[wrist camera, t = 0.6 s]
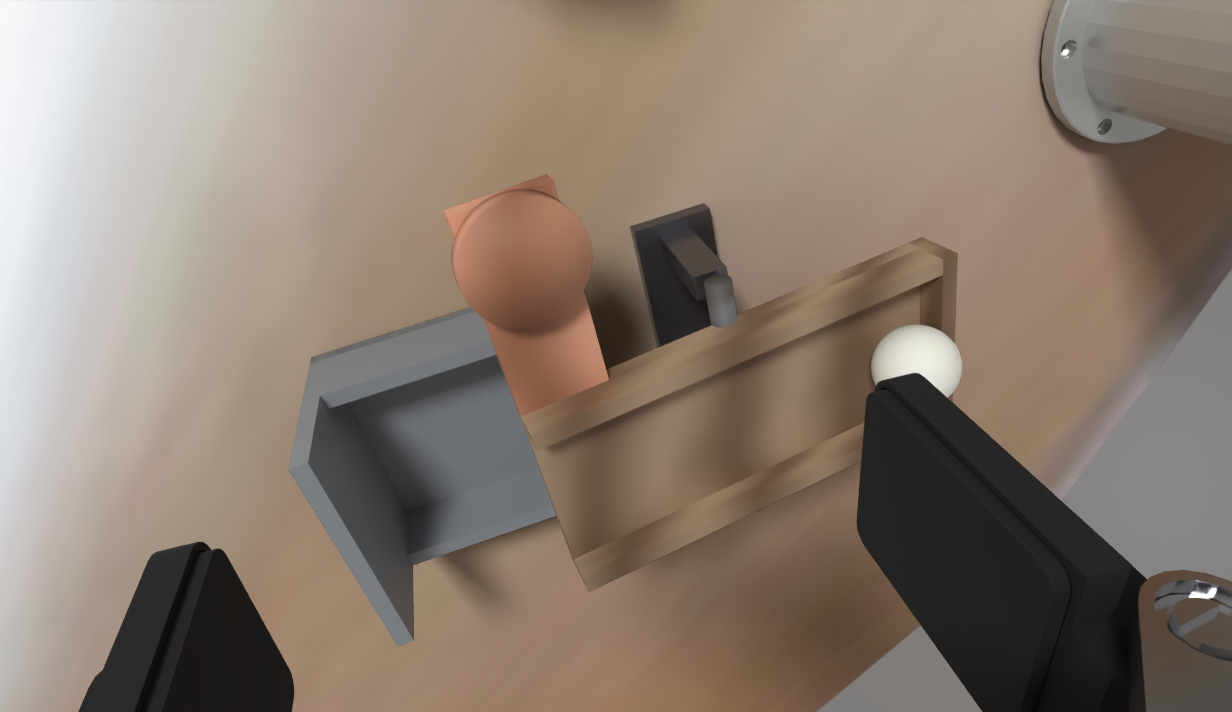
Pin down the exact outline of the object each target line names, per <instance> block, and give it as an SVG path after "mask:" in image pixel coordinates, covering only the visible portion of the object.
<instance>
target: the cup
mask: <svg viewBox="0 0 1232 712" xmlns="http://www.w3.org/2000/svg"><path fill="white" fill-rule="evenodd" d="M288 470H289V472H290V474H291V475H292V477H293V478H294V480H295V482H296V483H297V485H298V486H299V488H300V490H301V491H302V493H303V495H304V496H305V498H306V499H307V501H308V503H309V504H310V506H311V507H312V509H313V511H314V512H315V514H316V515H317V517H318V519H319V520H320V522H321V524H322V525H323V527H324V528H325V530H326V532H327V533H328V535H329V536H330V538H331V540H332V541H333V543H334V545H335V546H336V548H337V549H338V551H339V553H340V554H341V556H342V557H343V559H344V561H345V562H346V564H347V565H348V567H349V569H350V570H351V572H352V574H353V575H354V577H355V578H356V580H357V582H358V583H359V585H360V586H361V588H362V590H363V591H364V593H365V594H366V596H367V598H368V599H369V601H370V603H371V604H372V606H373V607H374V609H375V611H376V612H377V614H378V615H379V617H380V619H381V620H382V622H383V623H384V625H385V627H386V628H387V630H388V632H389V633H390V635H391V636H392V638H393V640H394V641H395V643H396V644H397V646H401V645H404V644H407V643H409V642H412V641H414V605H413V565H415V564H418V563H421V562H424V561H427V560H430V559H433V558H436V557H438V556H441V555H444V554H447V553H450V552H453V551H456V550H459V549H462V548H464V547H467V546H470V545H473V544H476V543H479V542H482V541H485V540H488V539H491V538H493V537H496V536H499V535H502V534H505V533H508V532H511V531H514V530H517V529H519V528H522V527H525V526H528V525H531V524H534V523H537V522H540V521H543V520H546V519H548V518H551V517H554V516H556V513H555V510H554V508H553V505H552V502H551V500H550V497H549V494H548V492H547V489H546V486H545V484H544V481H543V478H542V476H541V473H540V470H539V467H538V465H537V462H536V459H535V457H534V454H533V451H532V449H531V446H530V443H529V441H528V438H527V435H526V433H525V430H524V427H523V425H522V422H521V419H520V416H519V414H518V411H517V408H516V406H515V403H514V400H513V398H512V395H511V392H510V390H509V387H508V384H507V382H506V379H505V376H504V374H503V371H502V368H501V365H500V363H499V360H498V357H497V355H496V352H495V349H494V347H493V344H492V341H491V339H490V336H489V333H488V331H487V328H486V325H485V323H484V320H483V318H482V317H481V316H480V315H478V314H477V313H476V312H475V311H474V310H473V309H472V308H471V307H470V308H466V309H463V310H460V311H457V312H454V313H451V314H447V315H444V316H441V317H438V318H435V319H432V320H428V321H425V322H422V323H419V324H416V325H413V326H410V327H406V328H403V329H400V330H397V331H394V332H391V333H387V334H384V335H381V336H378V337H375V338H372V339H368V340H365V341H362V342H359V343H356V344H353V345H349V346H346V347H343V348H340V349H337V350H334V351H331V352H327V353H324V354H321V355H318V356H315V357H312V358H311V362H310V367H309V372H308V376H307V381H306V386H305V391H304V396H303V400H302V405H301V410H300V415H299V420H298V424H297V429H296V434H295V439H294V444H293V448H292V453H291V458H290V463H289V468H288Z"/></svg>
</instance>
